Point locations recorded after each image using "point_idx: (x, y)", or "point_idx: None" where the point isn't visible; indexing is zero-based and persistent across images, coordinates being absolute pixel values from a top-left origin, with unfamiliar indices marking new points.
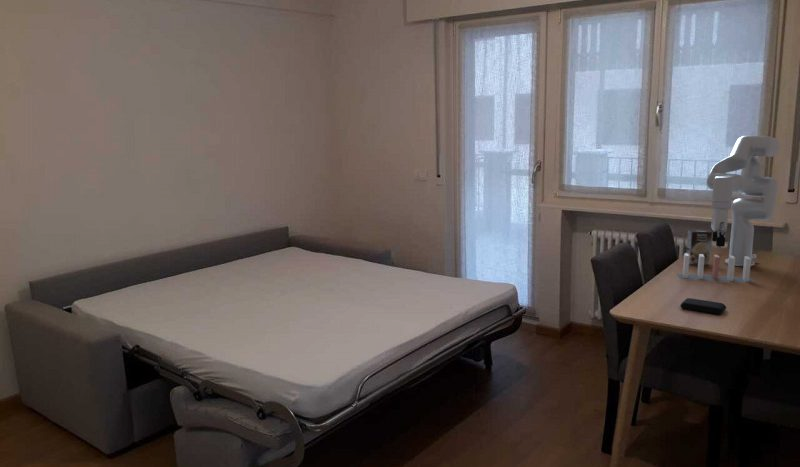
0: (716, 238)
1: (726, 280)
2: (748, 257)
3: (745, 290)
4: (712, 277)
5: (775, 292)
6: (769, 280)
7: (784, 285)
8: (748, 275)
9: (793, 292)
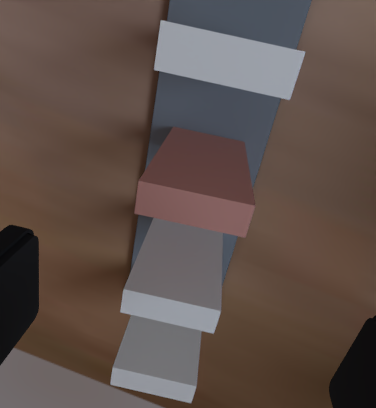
0: (364, 385)
1: None
2: (159, 391)
3: (3, 207)
4: (222, 137)
5: None
6: None
7: None
8: None
9: (29, 353)
